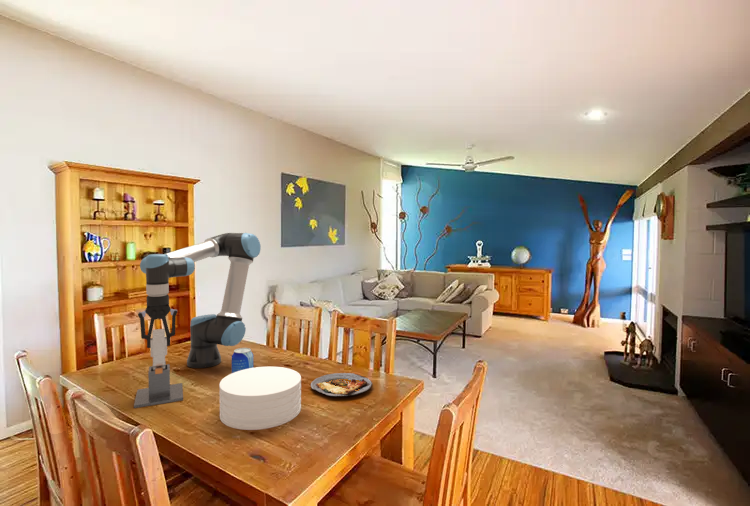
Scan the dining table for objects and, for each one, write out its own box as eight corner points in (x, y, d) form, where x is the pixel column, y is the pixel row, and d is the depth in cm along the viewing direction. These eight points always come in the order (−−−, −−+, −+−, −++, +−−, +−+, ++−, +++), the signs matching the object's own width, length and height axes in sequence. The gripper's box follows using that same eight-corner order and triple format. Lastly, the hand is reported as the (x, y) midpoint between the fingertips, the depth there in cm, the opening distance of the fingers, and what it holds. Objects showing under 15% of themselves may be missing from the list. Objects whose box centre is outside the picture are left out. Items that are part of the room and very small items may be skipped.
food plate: (383, 387, 166) (383, 379, 165) (342, 406, 148) (341, 397, 148) (341, 374, 182) (341, 366, 182) (300, 389, 165) (300, 381, 165)
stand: (182, 385, 166) (181, 356, 165) (183, 400, 152) (182, 368, 151) (137, 391, 159) (136, 361, 158) (133, 408, 144) (133, 375, 144)
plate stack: (258, 439, 125) (258, 403, 124) (202, 416, 139) (202, 383, 139) (316, 406, 148) (316, 375, 148) (263, 389, 163) (263, 361, 163)
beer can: (257, 386, 166) (257, 348, 165) (244, 394, 158) (244, 354, 157) (240, 383, 168) (240, 346, 168) (227, 391, 161) (226, 351, 160)
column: (166, 383, 158) (165, 328, 157) (166, 387, 154) (165, 331, 153) (153, 385, 156) (152, 329, 155) (152, 389, 152) (151, 332, 150)
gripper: (182, 292, 160) (183, 349, 161) (132, 294, 152) (134, 355, 154) (182, 294, 153) (183, 354, 155) (130, 297, 146) (132, 360, 147)
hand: (159, 354), depth 154 cm, fingers closed on column, 4 cm apart
